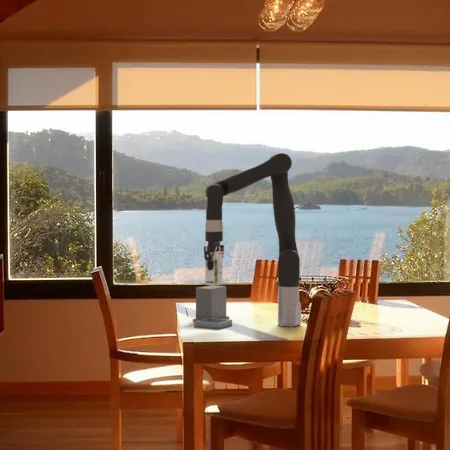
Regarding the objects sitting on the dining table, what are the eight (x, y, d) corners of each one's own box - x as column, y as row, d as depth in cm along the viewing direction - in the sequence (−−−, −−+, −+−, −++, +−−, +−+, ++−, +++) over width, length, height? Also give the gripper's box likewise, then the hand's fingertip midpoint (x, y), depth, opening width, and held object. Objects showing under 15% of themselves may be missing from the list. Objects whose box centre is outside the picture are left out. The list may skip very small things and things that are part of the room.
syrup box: (204, 284, 355) (204, 251, 355) (211, 283, 361) (211, 250, 360) (216, 285, 353) (216, 251, 352) (222, 284, 358) (222, 250, 357)
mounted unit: (229, 318, 381) (229, 286, 380) (212, 323, 367) (212, 289, 366) (210, 316, 385) (210, 284, 385) (192, 321, 371) (192, 288, 371)
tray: (232, 325, 360) (232, 319, 360) (218, 329, 349) (218, 323, 349) (208, 323, 365) (208, 317, 365) (194, 327, 355) (194, 321, 355)
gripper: (214, 229, 364) (214, 267, 365) (198, 230, 351) (198, 270, 352) (229, 230, 360) (229, 268, 361) (213, 231, 348) (213, 271, 348)
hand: (213, 269), depth 356 cm, fingers closed on syrup box, 6 cm apart
